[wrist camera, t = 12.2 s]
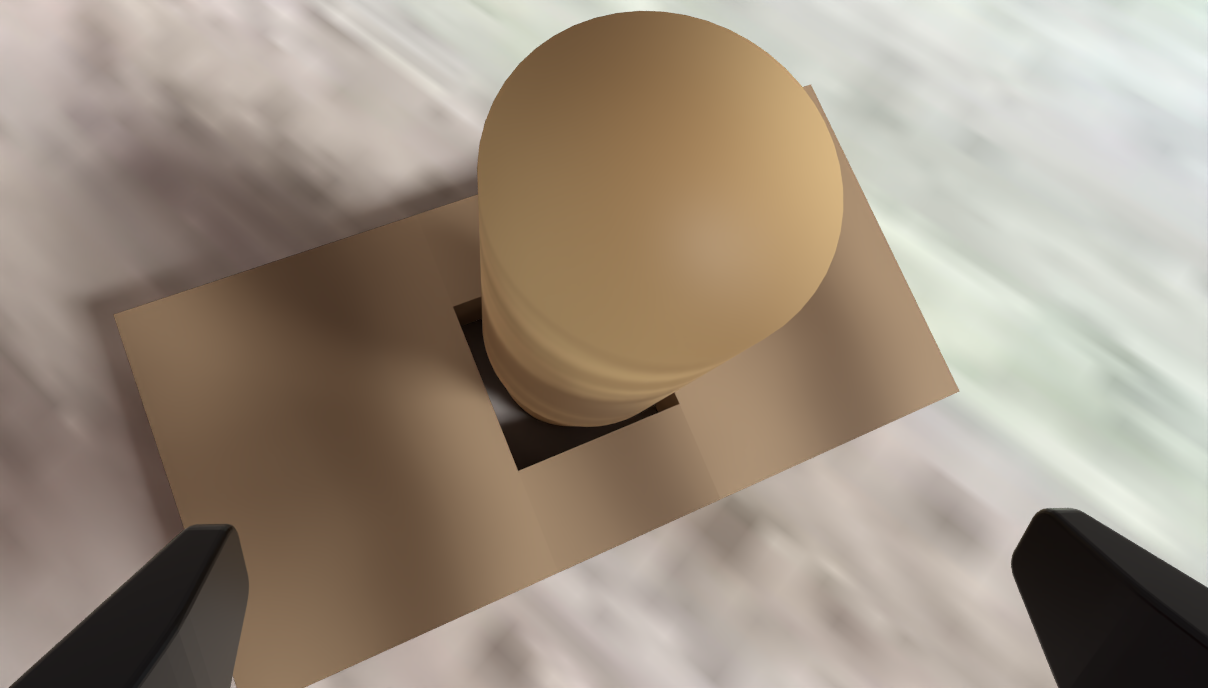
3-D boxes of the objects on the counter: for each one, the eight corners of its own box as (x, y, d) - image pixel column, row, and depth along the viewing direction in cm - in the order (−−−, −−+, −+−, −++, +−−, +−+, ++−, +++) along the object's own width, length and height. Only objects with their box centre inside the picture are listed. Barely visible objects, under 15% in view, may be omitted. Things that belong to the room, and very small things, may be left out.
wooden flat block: (275, 688, 20) (245, 713, 17) (156, 336, 21) (113, 314, 19) (911, 402, 24) (959, 391, 22) (780, 124, 25) (810, 84, 23)
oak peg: (517, 472, 22) (564, 422, 8) (461, 332, 22) (421, 68, 9) (655, 414, 23) (903, 283, 9) (598, 281, 23) (752, -28, 10)
